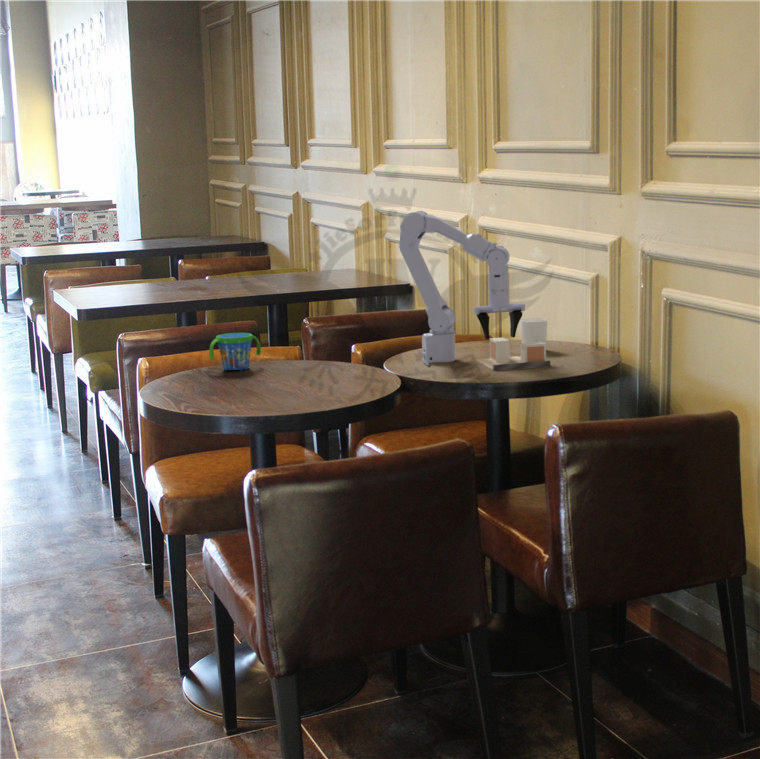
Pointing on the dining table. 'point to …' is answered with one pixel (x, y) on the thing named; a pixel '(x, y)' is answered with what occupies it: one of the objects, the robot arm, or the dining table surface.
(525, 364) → the shelf board
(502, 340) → the carton
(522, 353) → the faced carton
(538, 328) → the white cup
